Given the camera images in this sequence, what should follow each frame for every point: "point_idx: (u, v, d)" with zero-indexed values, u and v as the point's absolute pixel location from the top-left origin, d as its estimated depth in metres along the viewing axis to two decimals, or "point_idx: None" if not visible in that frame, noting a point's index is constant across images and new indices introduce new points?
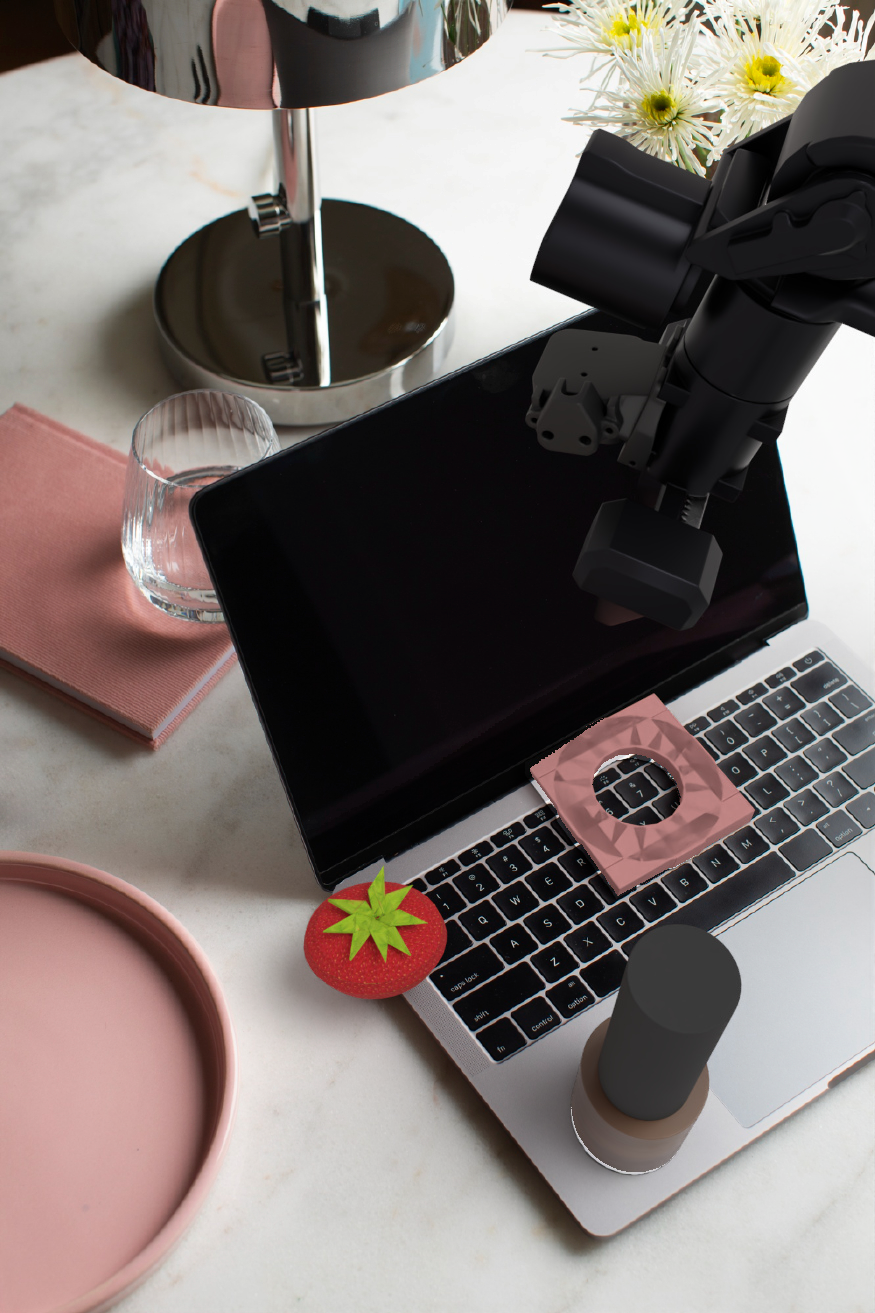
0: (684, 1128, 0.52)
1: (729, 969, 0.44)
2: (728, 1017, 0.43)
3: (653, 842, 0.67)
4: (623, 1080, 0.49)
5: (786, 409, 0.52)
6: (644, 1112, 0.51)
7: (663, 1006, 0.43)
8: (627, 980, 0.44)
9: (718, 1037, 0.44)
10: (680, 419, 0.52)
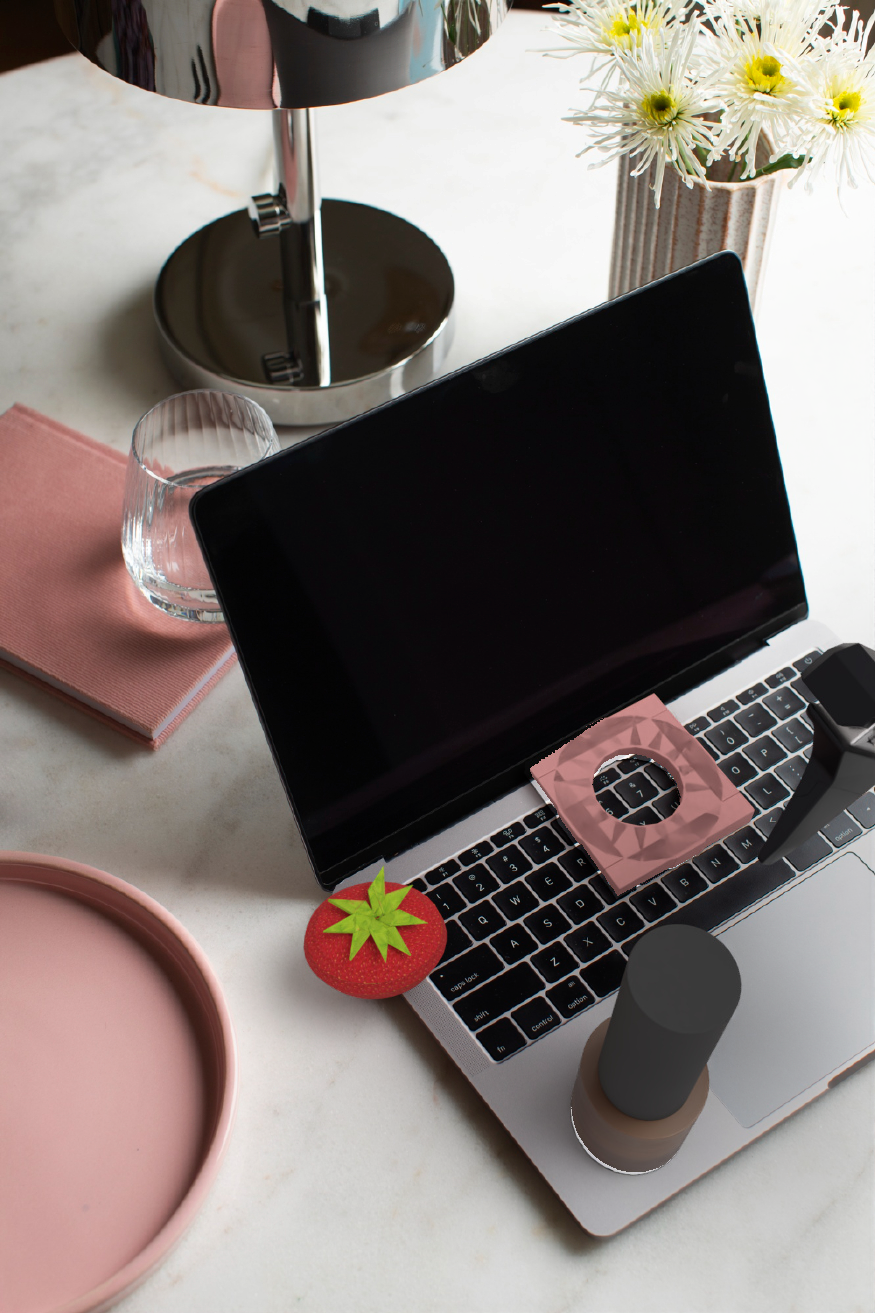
0: (684, 1128, 0.52)
1: (729, 969, 0.44)
2: (728, 1017, 0.43)
3: (653, 842, 0.67)
4: (623, 1080, 0.49)
5: None
6: (644, 1112, 0.51)
7: (663, 1006, 0.43)
8: (627, 980, 0.44)
9: (718, 1037, 0.44)
10: None
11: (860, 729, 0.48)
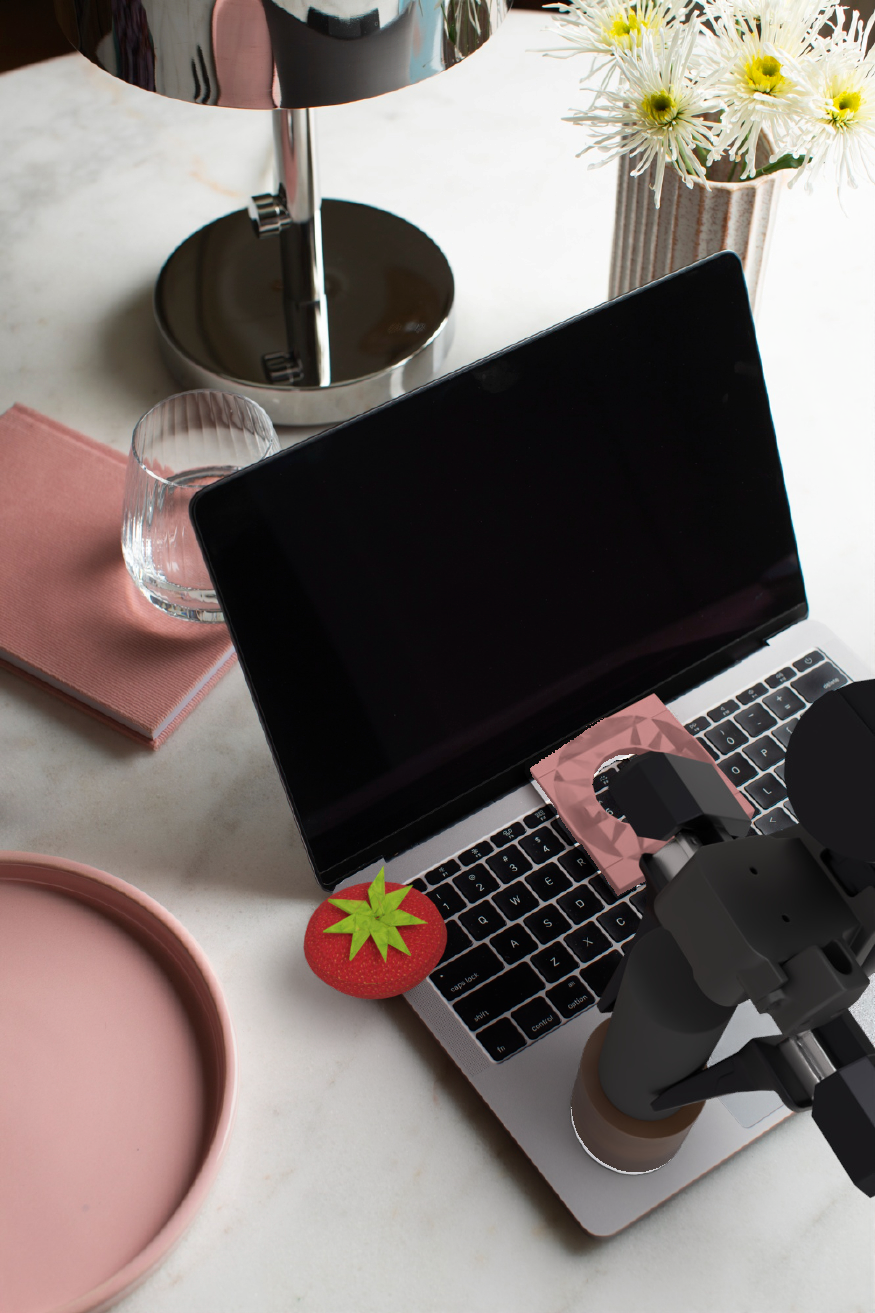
0: (684, 1128, 0.52)
1: None
2: (728, 1017, 0.43)
3: (653, 842, 0.67)
4: (623, 1080, 0.49)
5: None
6: (644, 1112, 0.51)
7: (663, 1006, 0.43)
8: (627, 980, 0.44)
9: (718, 1037, 0.44)
10: None
11: None
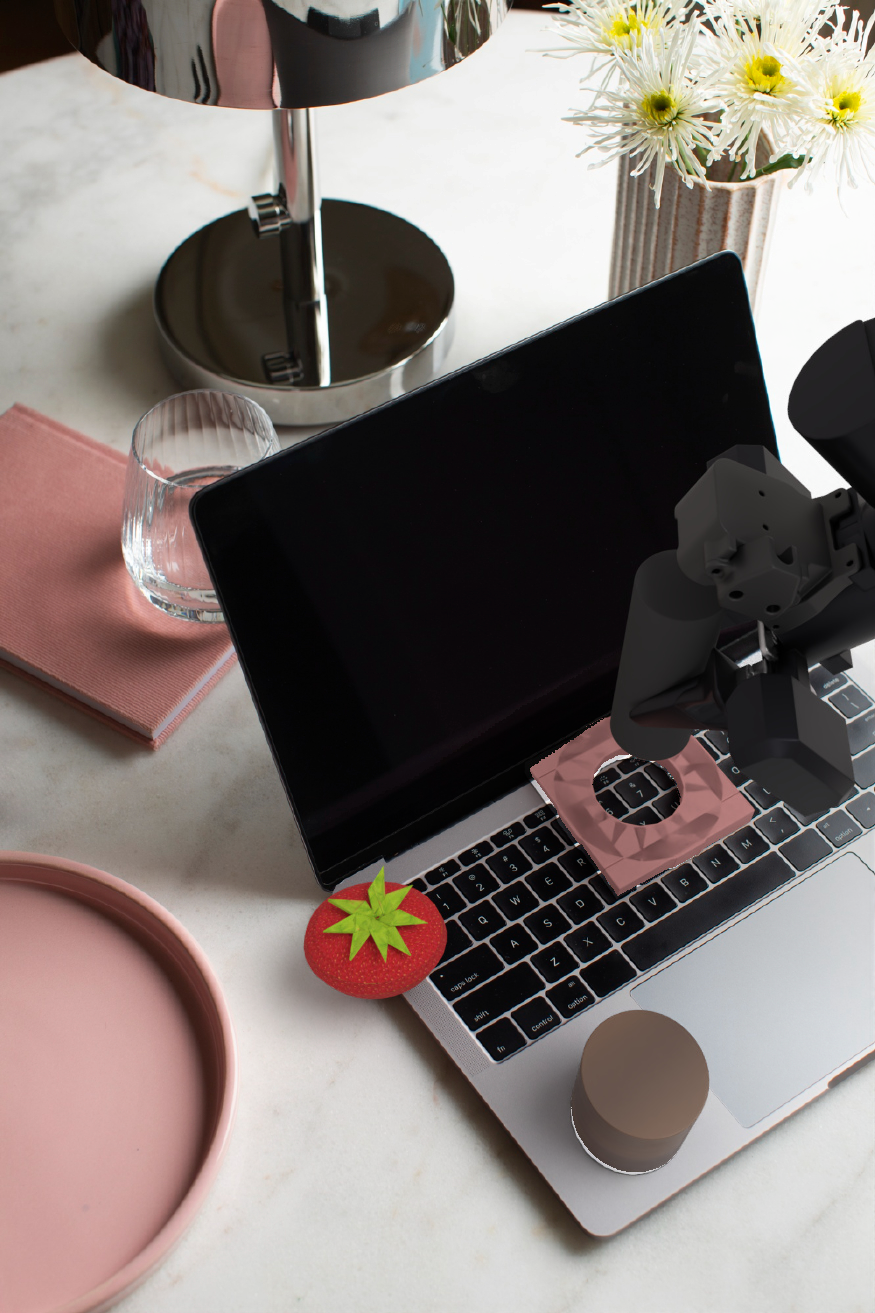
0: (684, 1128, 0.52)
1: None
2: (700, 619, 0.51)
3: (653, 842, 0.67)
4: (619, 694, 0.59)
5: None
6: (630, 740, 0.60)
7: (654, 593, 0.52)
8: (638, 569, 0.53)
9: (692, 648, 0.53)
10: (854, 600, 0.49)
11: None
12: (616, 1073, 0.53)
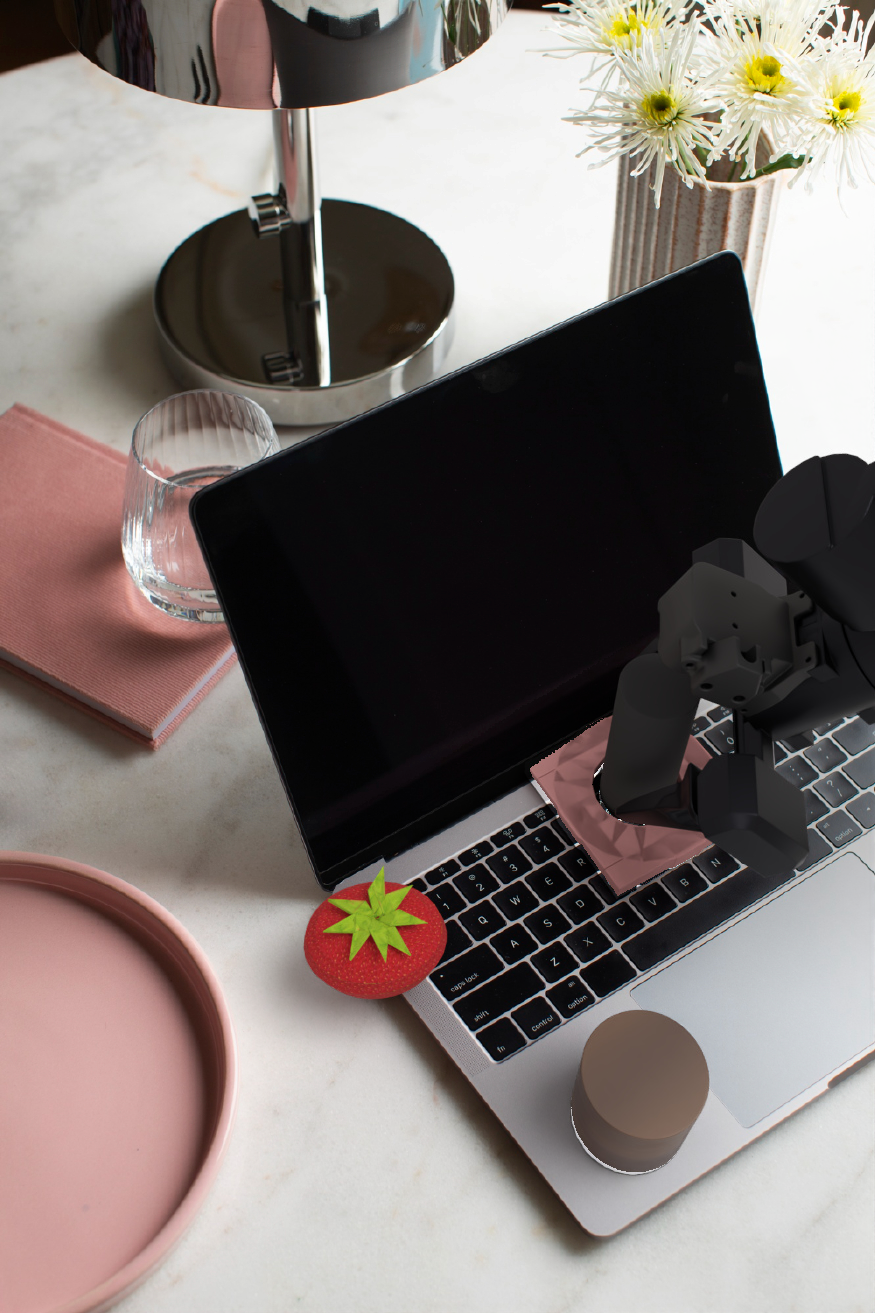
0: (684, 1128, 0.52)
1: (693, 695, 0.60)
2: (673, 718, 0.59)
3: (653, 842, 0.67)
4: (606, 771, 0.67)
5: None
6: (614, 811, 0.68)
7: (635, 693, 0.60)
8: (622, 670, 0.61)
9: (667, 740, 0.61)
10: (812, 690, 0.55)
11: None
12: (616, 1073, 0.53)
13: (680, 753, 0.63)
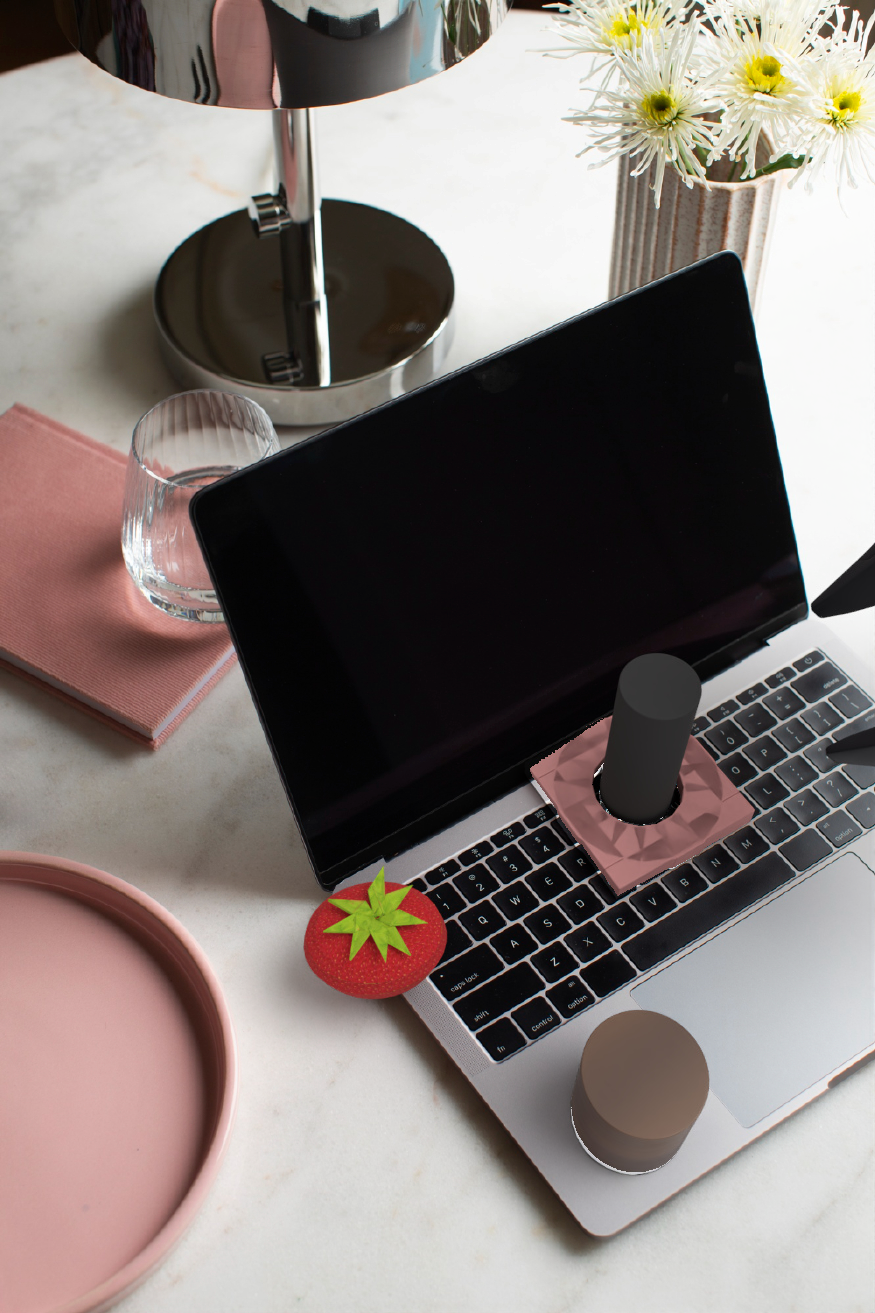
0: (684, 1128, 0.52)
1: (693, 695, 0.60)
2: (673, 718, 0.59)
3: (653, 842, 0.67)
4: (606, 771, 0.67)
5: None
6: (614, 811, 0.68)
7: (635, 693, 0.60)
8: (622, 670, 0.61)
9: (667, 740, 0.61)
10: None
11: None
12: (616, 1073, 0.53)
13: (680, 753, 0.63)
